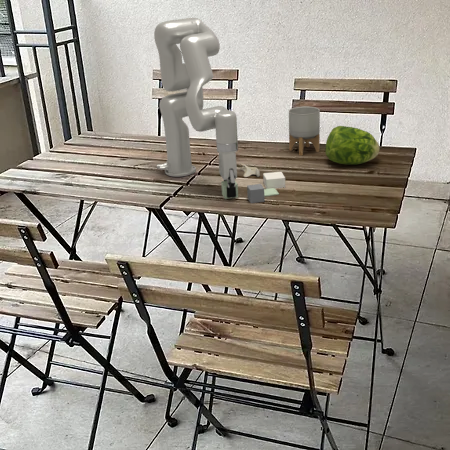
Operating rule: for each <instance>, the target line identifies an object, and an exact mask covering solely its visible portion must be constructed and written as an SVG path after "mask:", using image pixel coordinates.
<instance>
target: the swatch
mask: <svg viewBox="0 0 450 450" xmlns="http://www.w3.org/2000/svg"><path fill="white" fill-rule="evenodd" d="M279 195H280V193H279V192H278V190H277V188H270V189H266V188H264V198H265V197H271V196H279Z"/></svg>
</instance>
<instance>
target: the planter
mask: <svg viewBox="0 0 450 450" xmlns="http://www.w3.org/2000/svg"><path fill="white" fill-rule="evenodd" d="M320 110H321V109H320V108H318V107H315V106H296V107H291V108H290V109H288V140H289V143H288V144H289V145H288V149H289V151H294V147H295V146H294V145H295V144H296V143H298V156H303V155H304V147H305V148H310V146H311V145H310V143H311V144H312V145H313V146H314V149H315V153H319V152H320V149H321V148H320V145H321V144H320V142H321V141H320V138H321V137H320V135H321V132H320V131H321V130H320V129H321V127H320V123H321V122H320V121H321V119H320V117H321V116H320V115H321V111H320Z"/></svg>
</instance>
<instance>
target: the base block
mask: <svg viewBox="0 0 450 450" xmlns="http://www.w3.org/2000/svg"><path fill="white" fill-rule="evenodd" d="M262 175H263V180H262V181H263V185H264V187H265V189H270V188H275V189H282V188H283V187H284V189H285V188H286V176H285V175H284V173H283V172H282V171H275V172H274V171H273V172H264V173H262Z"/></svg>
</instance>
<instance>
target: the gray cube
mask: <svg viewBox="0 0 450 450" xmlns="http://www.w3.org/2000/svg"><path fill="white" fill-rule="evenodd" d="M264 189H265V188H264V186H263V184H262V183H257V184H256V183H255V184H247V185H246V190H247V191H246V193H247V194H246V195H247V199H248V201H249V203H250V204H256V203H264V202H265V200H266V199H265V197H264Z"/></svg>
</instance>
